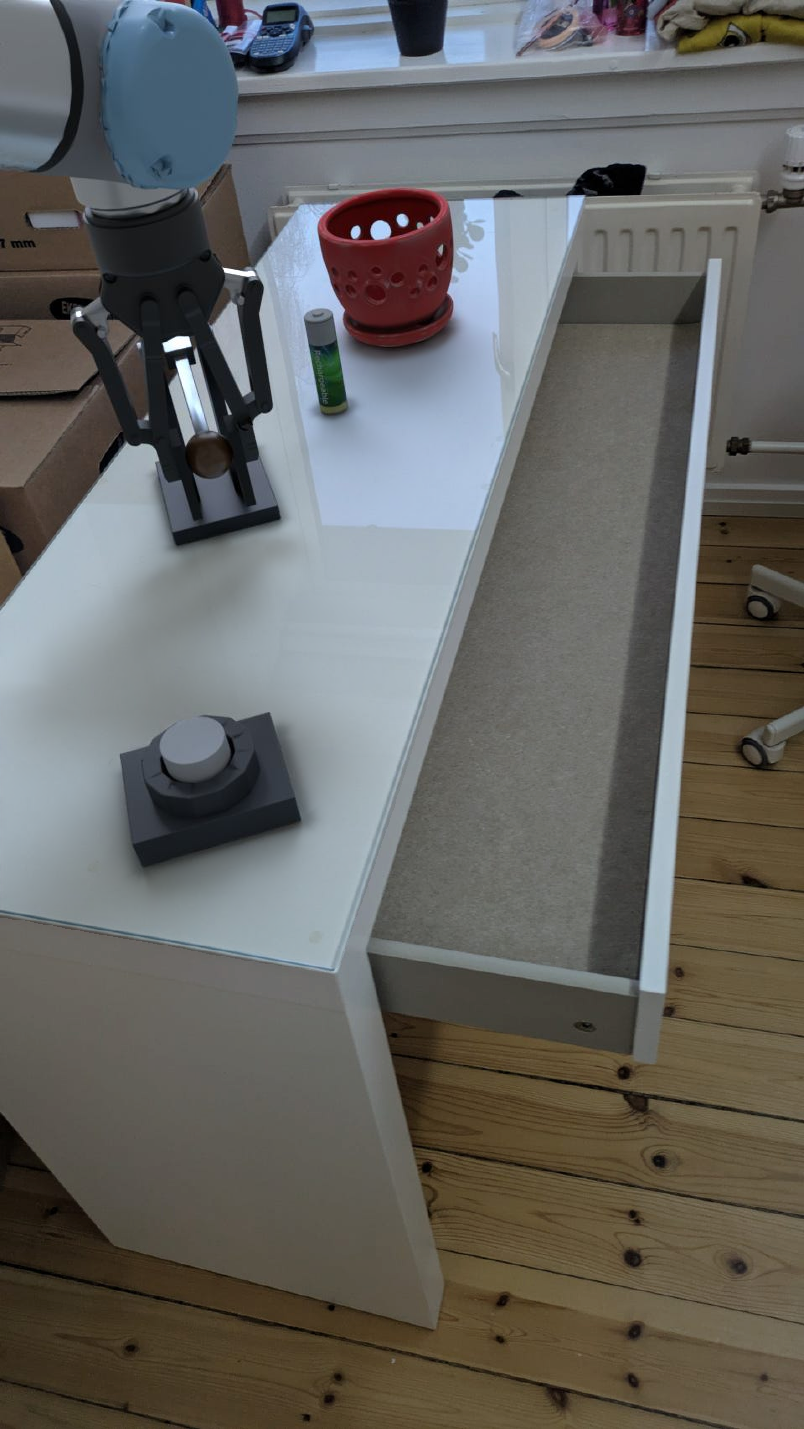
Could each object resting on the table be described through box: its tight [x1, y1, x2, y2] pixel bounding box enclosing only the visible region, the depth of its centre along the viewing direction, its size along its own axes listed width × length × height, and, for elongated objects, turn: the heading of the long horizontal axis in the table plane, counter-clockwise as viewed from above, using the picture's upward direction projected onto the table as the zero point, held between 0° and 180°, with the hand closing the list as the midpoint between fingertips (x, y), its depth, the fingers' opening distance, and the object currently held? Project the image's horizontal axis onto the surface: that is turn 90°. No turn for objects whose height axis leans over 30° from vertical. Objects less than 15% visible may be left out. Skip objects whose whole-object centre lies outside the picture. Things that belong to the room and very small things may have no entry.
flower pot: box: [316, 187, 455, 348], centre depth 110 cm, size 13×13×12 cm
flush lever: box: [162, 336, 233, 479], centre depth 84 cm, size 13×4×4 cm
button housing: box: [119, 711, 302, 868], centre depth 68 cm, size 10×8×4 cm
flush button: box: [160, 716, 231, 783], centre depth 67 cm, size 4×4×2 cm
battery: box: [303, 307, 349, 416], centre depth 101 cm, size 3×3×10 cm
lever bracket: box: [136, 325, 282, 546], centre depth 90 cm, size 12×9×16 cm
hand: (222, 503), depth 86 cm, fingers closed on flush lever, 4 cm apart
